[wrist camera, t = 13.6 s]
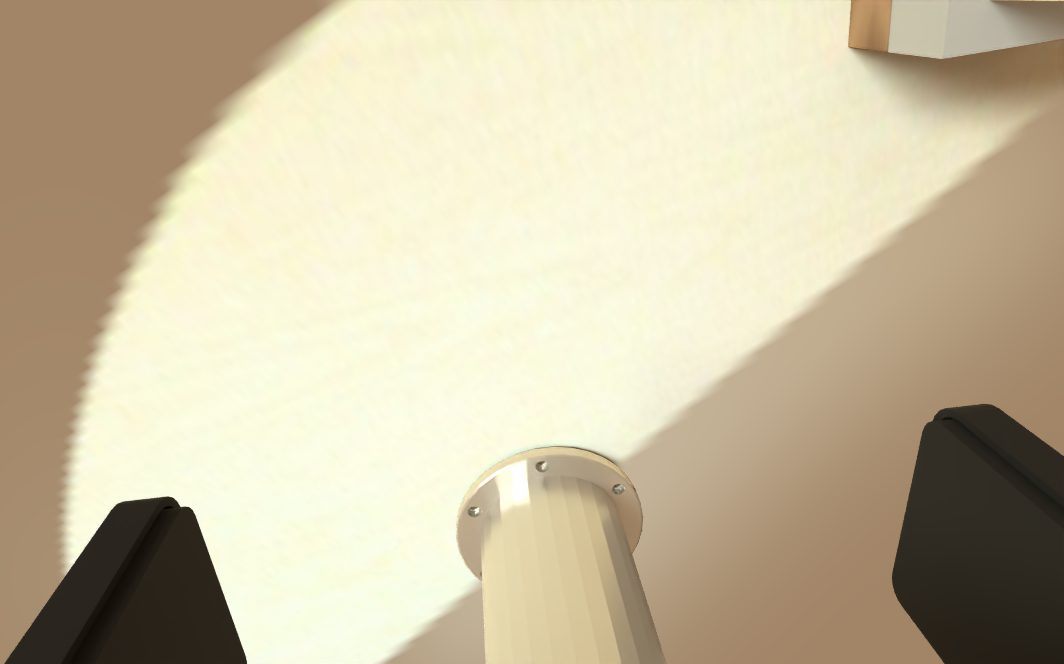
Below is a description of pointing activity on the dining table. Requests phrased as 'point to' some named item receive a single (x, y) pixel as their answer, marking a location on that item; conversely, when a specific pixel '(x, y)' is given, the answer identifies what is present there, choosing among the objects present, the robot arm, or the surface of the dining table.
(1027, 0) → the block
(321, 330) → the dining table surface
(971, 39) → the tower top
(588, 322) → the dining table surface
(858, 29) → the tower base
